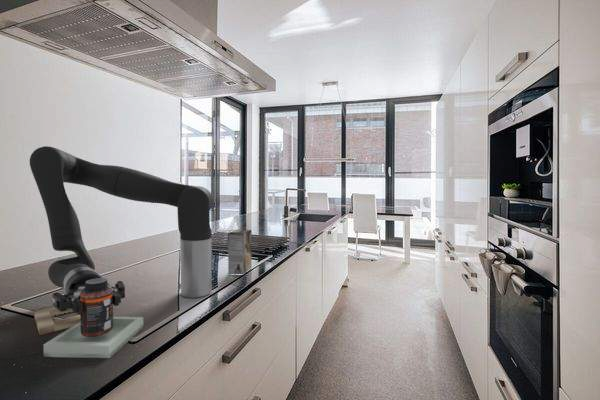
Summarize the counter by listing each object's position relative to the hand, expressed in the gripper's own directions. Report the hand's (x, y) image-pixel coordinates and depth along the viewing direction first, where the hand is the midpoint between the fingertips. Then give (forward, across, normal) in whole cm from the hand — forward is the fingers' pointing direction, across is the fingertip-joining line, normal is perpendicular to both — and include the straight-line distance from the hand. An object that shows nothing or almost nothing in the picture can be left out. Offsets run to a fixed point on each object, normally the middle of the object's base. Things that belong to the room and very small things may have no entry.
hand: (99, 305), depth 65 cm
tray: (-2, 0, +9) cm, 9 cm away
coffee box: (-26, +52, +9) cm, 58 cm away
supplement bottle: (-2, 0, +7) cm, 7 cm away
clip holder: (-20, -2, +9) cm, 22 cm away
